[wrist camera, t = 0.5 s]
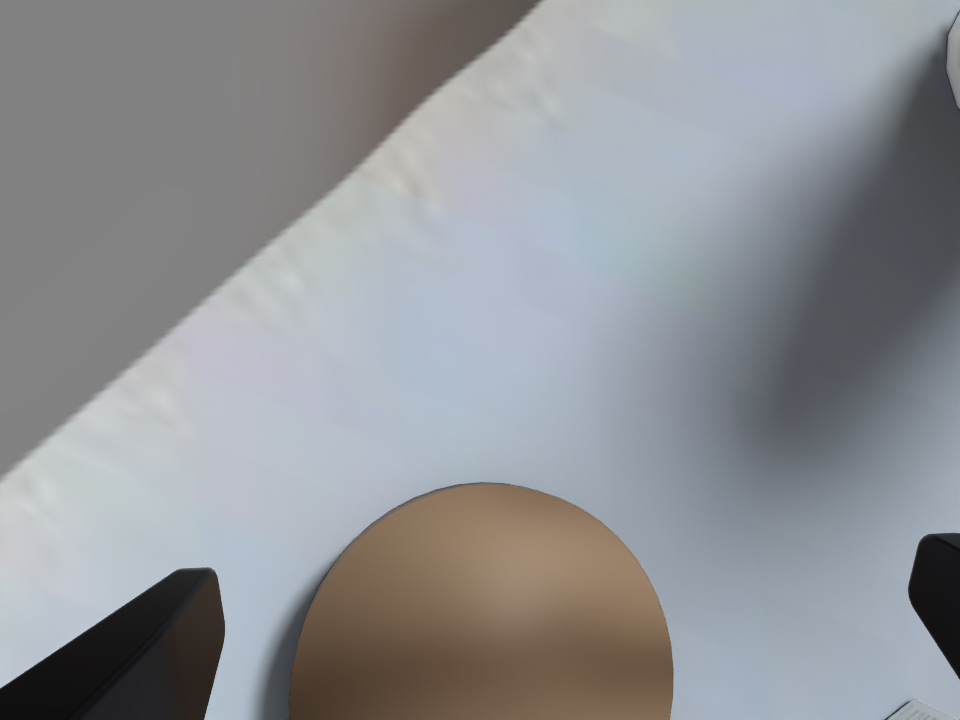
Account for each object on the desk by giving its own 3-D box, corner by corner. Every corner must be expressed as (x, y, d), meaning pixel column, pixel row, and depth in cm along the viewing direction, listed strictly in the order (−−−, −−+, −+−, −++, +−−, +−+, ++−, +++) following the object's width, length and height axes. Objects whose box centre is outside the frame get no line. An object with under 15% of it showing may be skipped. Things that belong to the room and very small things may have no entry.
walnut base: (677, 812, 22) (701, 838, 20) (315, 918, 19) (313, 957, 18) (623, 458, 23) (642, 460, 21) (273, 513, 20) (267, 519, 19)
